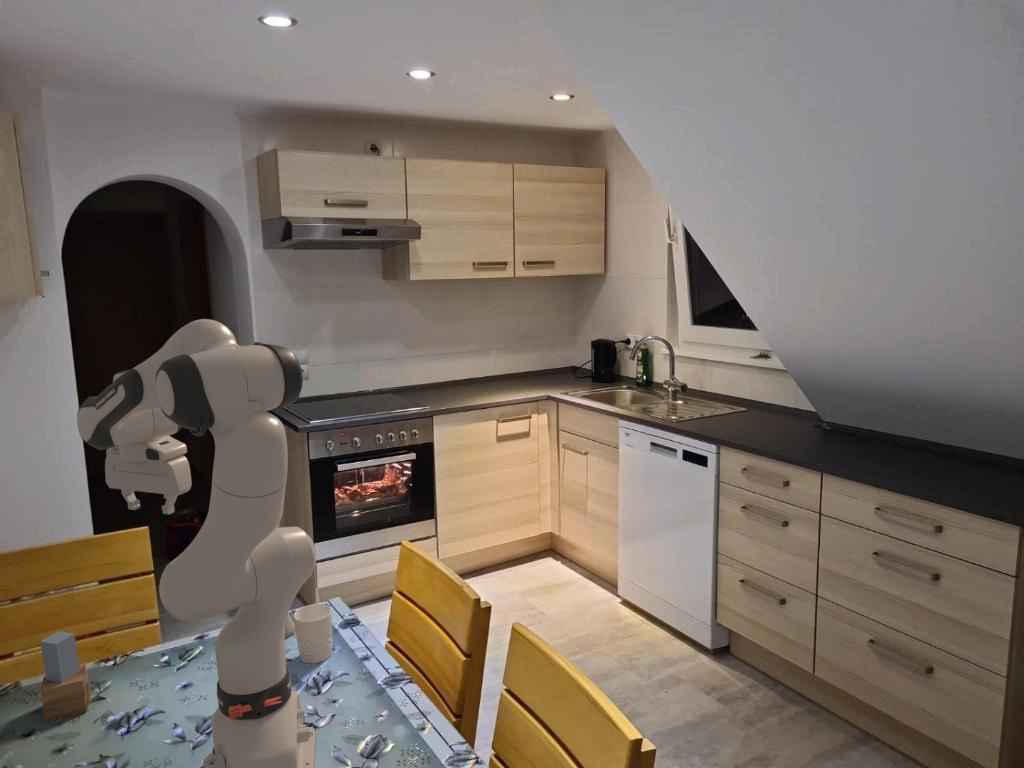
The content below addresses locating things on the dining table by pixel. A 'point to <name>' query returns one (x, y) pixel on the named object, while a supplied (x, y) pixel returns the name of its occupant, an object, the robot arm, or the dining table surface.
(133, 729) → the dining table surface
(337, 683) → the dining table surface
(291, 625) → the flask
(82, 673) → the tower top
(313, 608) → the white cup
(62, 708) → the tower base
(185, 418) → the robot arm
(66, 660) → the pillar
